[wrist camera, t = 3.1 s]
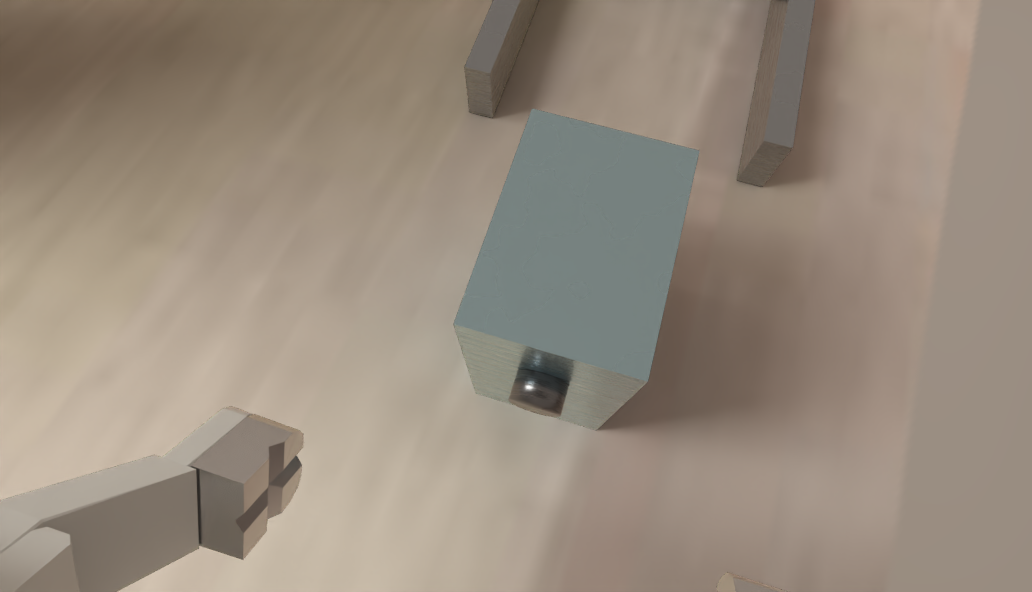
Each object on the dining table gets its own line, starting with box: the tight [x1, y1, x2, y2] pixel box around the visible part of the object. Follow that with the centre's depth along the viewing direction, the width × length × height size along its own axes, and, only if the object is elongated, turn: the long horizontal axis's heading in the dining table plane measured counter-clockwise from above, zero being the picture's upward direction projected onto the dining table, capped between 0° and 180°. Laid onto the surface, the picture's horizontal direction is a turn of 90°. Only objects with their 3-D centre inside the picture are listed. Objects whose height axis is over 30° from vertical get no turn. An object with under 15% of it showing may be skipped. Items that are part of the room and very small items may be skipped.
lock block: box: [454, 109, 699, 430], centre depth 19 cm, size 8×5×9 cm, turn 163°
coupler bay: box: [464, 0, 815, 187], centre depth 27 cm, size 13×14×3 cm
